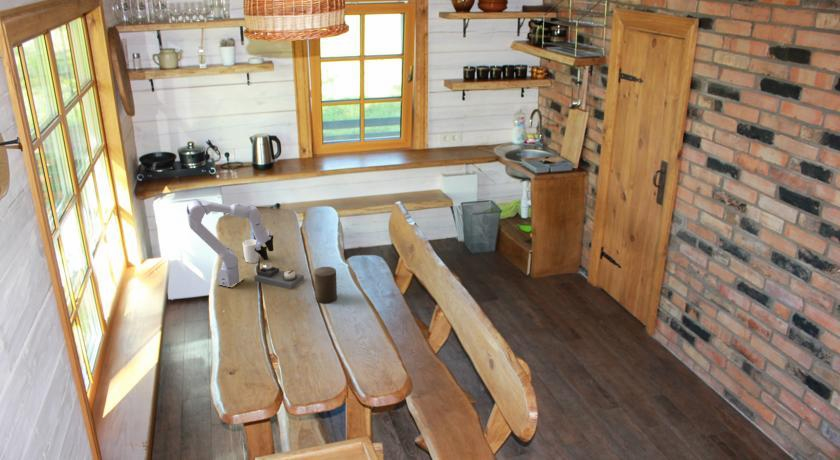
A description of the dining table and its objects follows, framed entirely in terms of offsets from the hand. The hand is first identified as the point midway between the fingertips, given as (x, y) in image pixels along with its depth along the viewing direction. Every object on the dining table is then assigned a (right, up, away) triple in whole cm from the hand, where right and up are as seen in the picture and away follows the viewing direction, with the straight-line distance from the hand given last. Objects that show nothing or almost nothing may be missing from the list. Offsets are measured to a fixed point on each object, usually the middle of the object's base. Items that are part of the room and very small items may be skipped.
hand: (268, 255), depth 334 cm
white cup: (-13, -4, +20) cm, 24 cm away
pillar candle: (+29, -19, -16) cm, 39 cm away
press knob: (0, -6, 0) cm, 6 cm away
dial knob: (+11, -10, -4) cm, 15 cm away
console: (+5, -12, -1) cm, 13 cm away
